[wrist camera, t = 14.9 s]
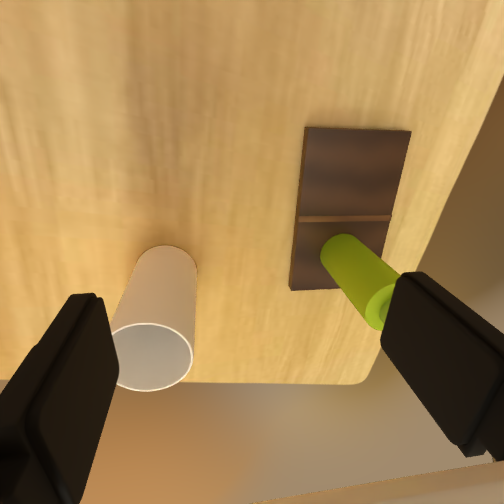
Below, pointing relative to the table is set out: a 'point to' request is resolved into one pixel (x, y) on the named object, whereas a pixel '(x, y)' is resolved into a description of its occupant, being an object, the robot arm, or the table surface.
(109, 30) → the table surface
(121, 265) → the table surface
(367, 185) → the walnut board
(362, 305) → the soap dispenser
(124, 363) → the cup
